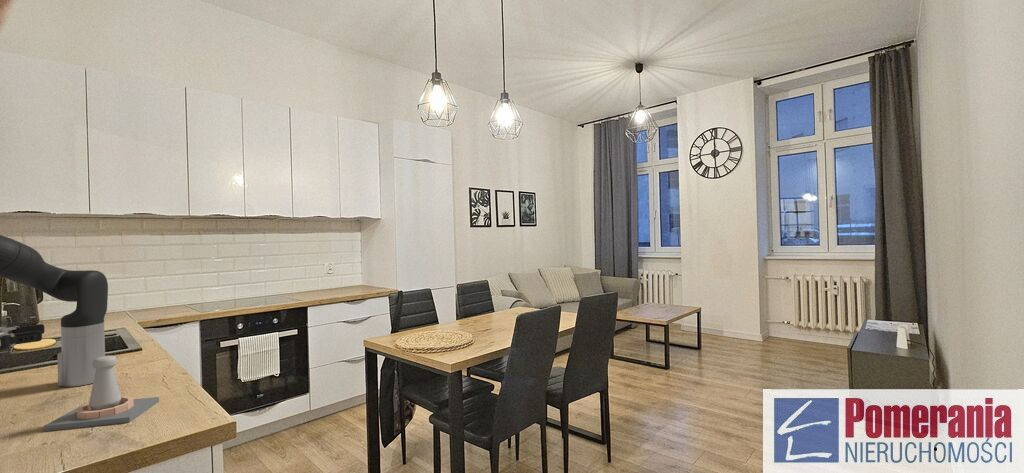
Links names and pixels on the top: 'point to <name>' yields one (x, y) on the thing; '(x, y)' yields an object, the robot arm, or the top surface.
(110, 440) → the top surface
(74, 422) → the holder
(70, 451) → the top surface
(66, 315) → the robot arm
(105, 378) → the salt shaker
